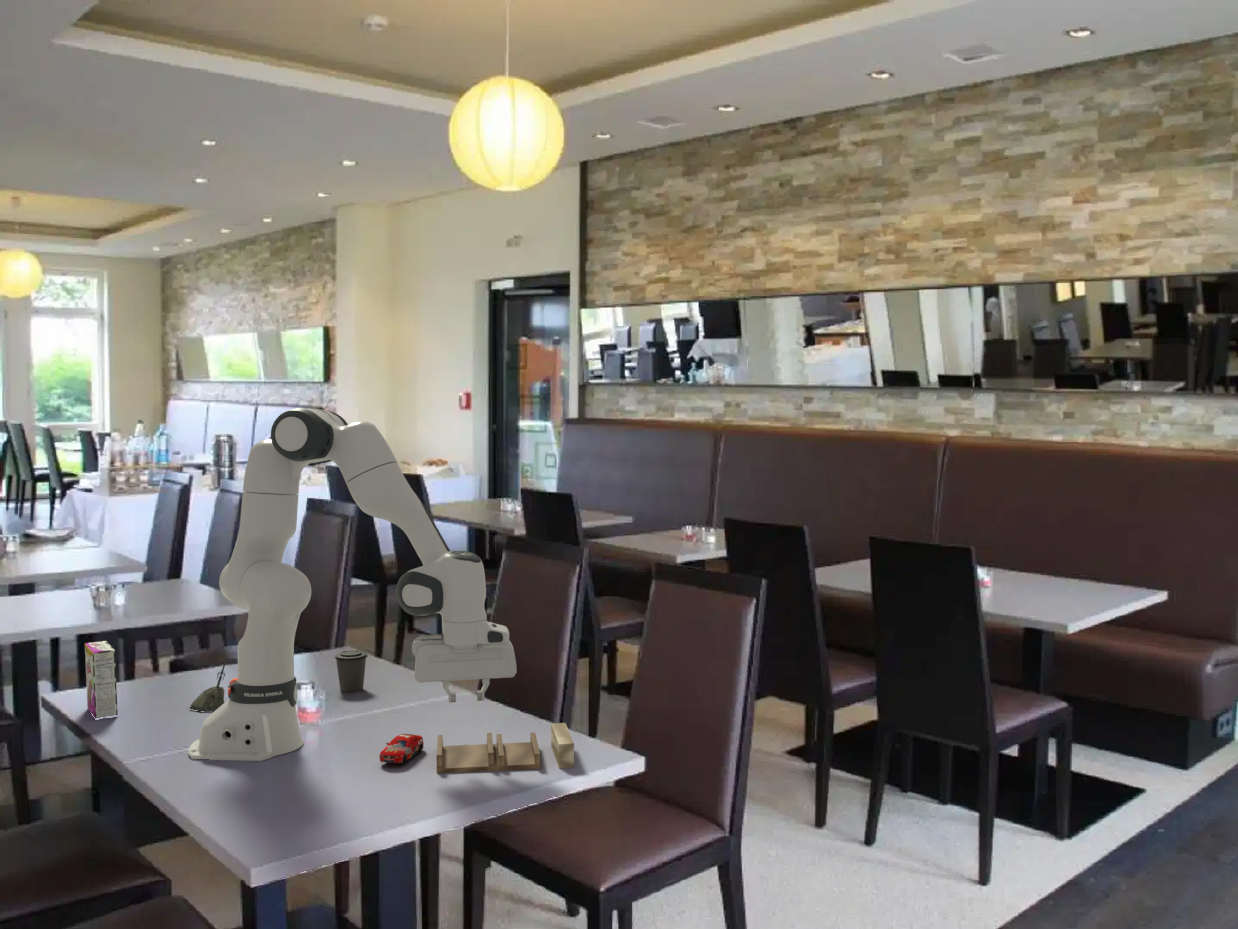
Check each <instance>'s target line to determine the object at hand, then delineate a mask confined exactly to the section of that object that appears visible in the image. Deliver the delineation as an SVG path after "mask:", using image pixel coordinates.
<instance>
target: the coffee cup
mask: <svg viewBox="0 0 1238 929" xmlns="http://www.w3.org/2000/svg"><path fill="white" fill-rule="evenodd" d="M368 657H369V655H368V654H367V653H366V651H360V650H353V649H351V650H346V651H344V650H343V651H341V652H340V653H337V654H335V656H334V659H335V660H336V661H335V662H336V668H337V674H338V675H337V676H338V683H339V690H340V692H341V693H346V694H353V693H359V692H362V691H363V690H364V683H365V675H366V674H365V672H366V663H367V658H368Z"/></svg>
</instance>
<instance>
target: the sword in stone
mask: <svg viewBox="0 0 1238 929" xmlns="http://www.w3.org/2000/svg"><path fill="white" fill-rule="evenodd" d="M227 661H228V658H227V657H226V658H224V661H223V665H222V669H221V670H220V671H218V672H217V675H216V676H217V677H216V679H217V684H216V686H211V687H209V688H207V689H205V690H202V692H201V693H200V694H199V695H198V696H197V697H196V698H195V699H194V701H192V703H191V704H190V706H191V707H190V706H189V708H190V709H193V710H198V711H215V710H217V709H218V708H219V707H220V706H221V705H223V704H224V703H225V698H224V697H225V689H224V687H223V686H220V683H221V681H222V682H223V681H224V679H225V676H226V673H225V672H224V670H225V667H226V663H227Z"/></svg>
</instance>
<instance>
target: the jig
mask: <svg viewBox="0 0 1238 929" xmlns="http://www.w3.org/2000/svg"><path fill="white" fill-rule="evenodd" d="M529 734H530V737H529V740H530V741H525V742H508V743H507V742H505V743H504V742H503V738H502V737H503V736H502V734H501V733H497V734H496V743H494V742H493V733H492V732H486V743H484V744H483V743H481V744H461V745H459V744H458V745H444V738H443V737H444V735H443V734H438V735H437V743H436V758H435V759H436V774H449V773H451V774H453V773H456V774H457V773H476V772H477V773H479V772H499V771H500V772H501V771H502V772H503V771H522V770H524V771H525V770H527V771H528V770H540V769H541V753H540V748H539V743H538V739H537V734H536V732H530V733H529Z"/></svg>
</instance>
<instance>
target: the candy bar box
mask: <svg viewBox="0 0 1238 929" xmlns="http://www.w3.org/2000/svg"><path fill="white" fill-rule="evenodd" d="M84 655H85V656H84V657H85V677H86V680H85V681H86V683H85V684H86V699H87V700H86V701H87V703H86V704H87V710H88V709H89V711H90V712H91V713H92V714H93V716H94V717H95V718H100V717H106V716H113V715H118V690H117V689H118V688H117V668H116V650H115V649H114V648H113V646H111V644H110V643H109V642H108V641H107V640H102V641H94V642H85V643H84ZM89 711H88V712H89Z"/></svg>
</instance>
